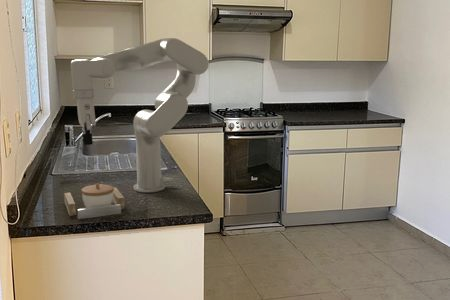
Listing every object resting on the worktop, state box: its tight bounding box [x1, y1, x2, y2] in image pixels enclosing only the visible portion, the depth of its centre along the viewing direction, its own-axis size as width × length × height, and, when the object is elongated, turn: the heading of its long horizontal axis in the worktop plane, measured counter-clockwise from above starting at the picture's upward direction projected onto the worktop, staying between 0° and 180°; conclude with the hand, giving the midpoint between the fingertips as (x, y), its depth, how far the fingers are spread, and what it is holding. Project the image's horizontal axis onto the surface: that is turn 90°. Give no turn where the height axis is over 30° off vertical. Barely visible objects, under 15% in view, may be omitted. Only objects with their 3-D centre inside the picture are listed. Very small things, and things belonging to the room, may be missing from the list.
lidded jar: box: [81, 183, 115, 208], centre depth 169 cm, size 11×11×9 cm
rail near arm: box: [112, 187, 125, 210], centre depth 176 cm, size 2×14×4 cm, turn 24°
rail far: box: [63, 192, 77, 217], centre depth 170 cm, size 2×14×4 cm, turn 24°
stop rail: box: [76, 203, 122, 220], centre depth 163 cm, size 14×2×3 cm, turn 114°
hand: (87, 144), depth 179 cm, fingers closed
